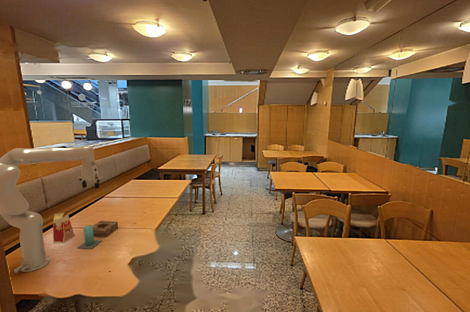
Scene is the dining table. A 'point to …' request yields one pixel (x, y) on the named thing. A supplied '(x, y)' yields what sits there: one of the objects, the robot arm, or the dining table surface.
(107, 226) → the pocket block
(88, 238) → the peg
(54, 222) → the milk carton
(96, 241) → the mat
